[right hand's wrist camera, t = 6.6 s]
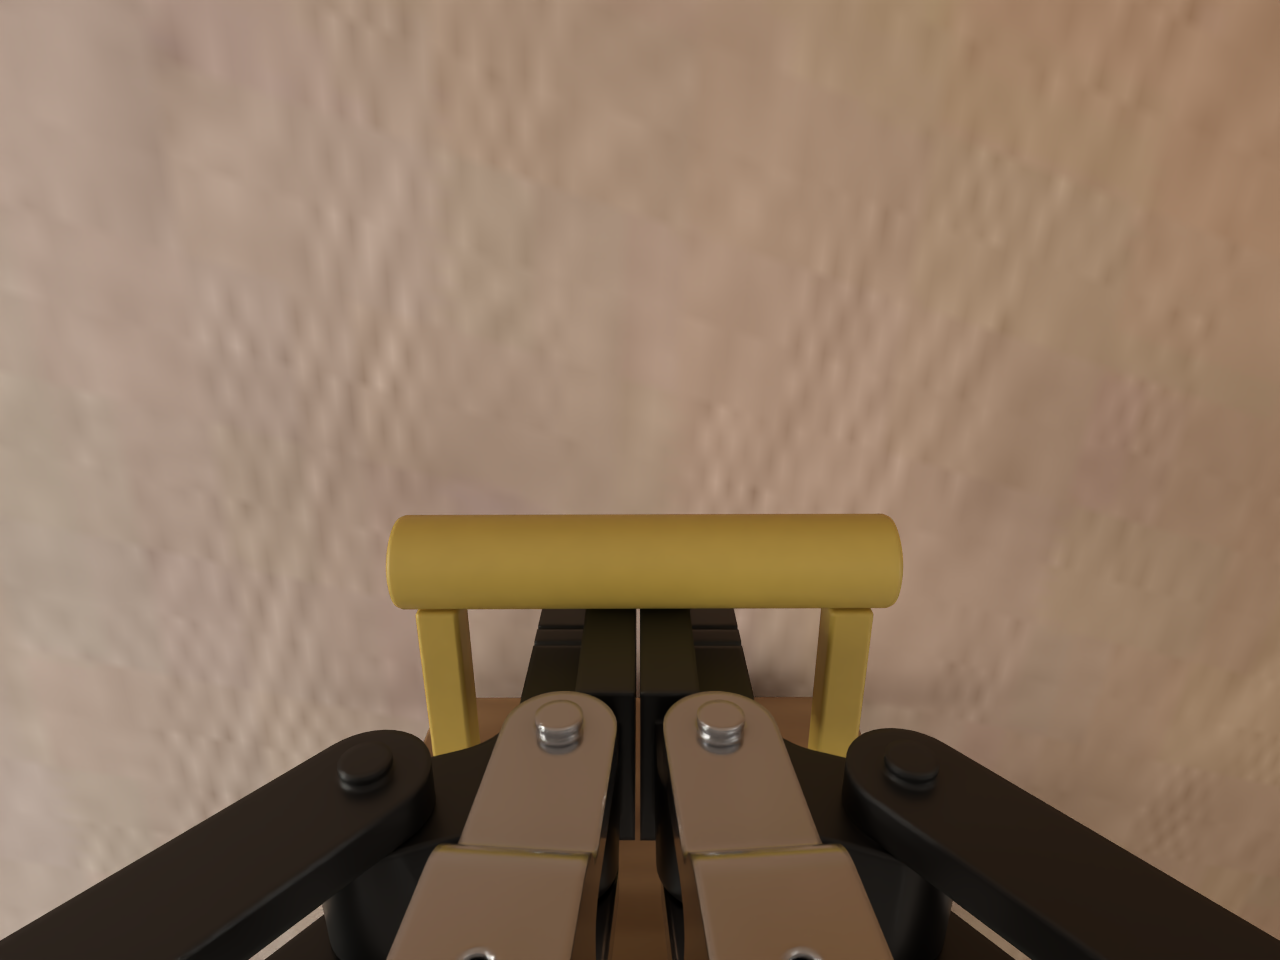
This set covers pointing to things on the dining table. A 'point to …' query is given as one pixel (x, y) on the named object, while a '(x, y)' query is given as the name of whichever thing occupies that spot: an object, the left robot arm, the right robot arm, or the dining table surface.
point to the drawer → (645, 579)
